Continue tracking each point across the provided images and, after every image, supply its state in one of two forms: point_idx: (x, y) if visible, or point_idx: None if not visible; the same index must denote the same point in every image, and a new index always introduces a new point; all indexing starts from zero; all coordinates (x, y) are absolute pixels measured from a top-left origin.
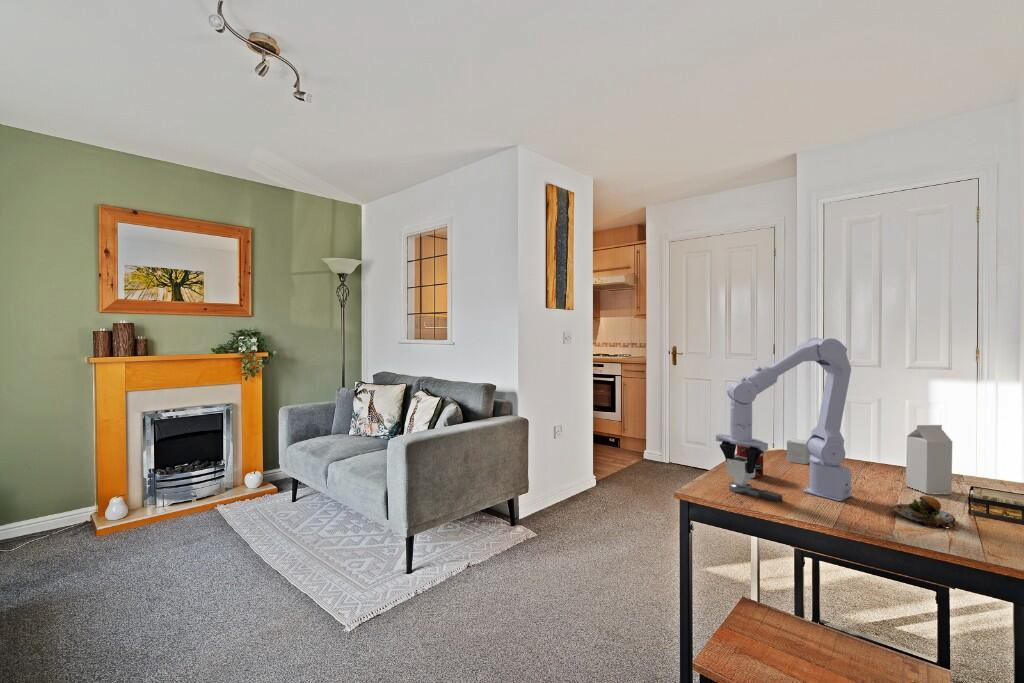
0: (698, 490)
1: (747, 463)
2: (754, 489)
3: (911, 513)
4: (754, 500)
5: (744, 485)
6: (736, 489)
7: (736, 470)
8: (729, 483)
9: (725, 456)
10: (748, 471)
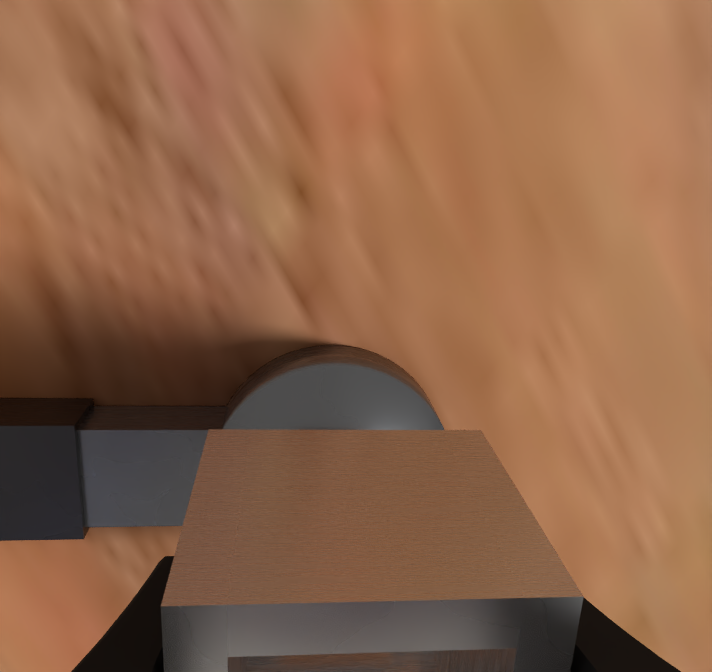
0: (643, 75)
1: (152, 654)
2: (165, 481)
3: None
4: (60, 281)
5: None
6: (315, 358)
7: (343, 488)
8: None
9: (654, 664)
10: None
